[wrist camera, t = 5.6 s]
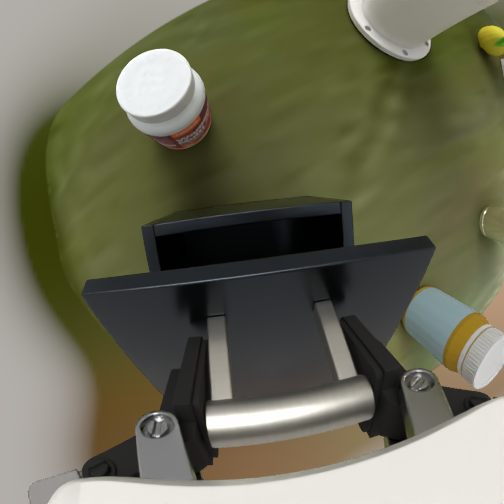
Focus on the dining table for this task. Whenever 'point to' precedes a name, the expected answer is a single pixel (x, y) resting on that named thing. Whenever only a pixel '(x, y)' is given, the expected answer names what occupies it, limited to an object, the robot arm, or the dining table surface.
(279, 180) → the dining table surface
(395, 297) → the bin lid
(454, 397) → the robot arm
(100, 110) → the dining table surface
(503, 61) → the coffee box
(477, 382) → the bottle
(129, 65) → the pill bottle
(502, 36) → the lemon
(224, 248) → the waste bin
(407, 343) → the dining table surface
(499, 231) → the cup with straw
